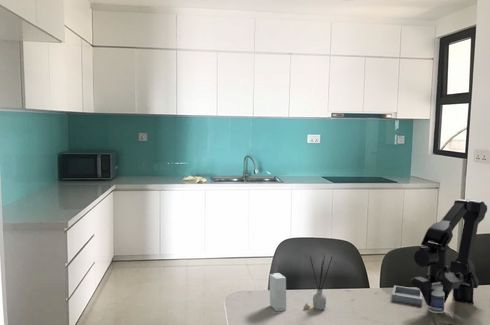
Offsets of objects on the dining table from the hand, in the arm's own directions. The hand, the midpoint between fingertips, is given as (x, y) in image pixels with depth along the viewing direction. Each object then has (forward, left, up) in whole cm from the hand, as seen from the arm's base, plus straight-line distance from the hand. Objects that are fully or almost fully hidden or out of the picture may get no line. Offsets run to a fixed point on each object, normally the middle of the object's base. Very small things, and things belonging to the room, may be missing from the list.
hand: (436, 304), depth 144 cm
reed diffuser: (+39, +18, -3) cm, 43 cm away
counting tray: (+10, -8, -2) cm, 13 cm away
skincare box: (+53, +23, -3) cm, 58 cm away
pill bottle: (0, 0, -3) cm, 3 cm away
